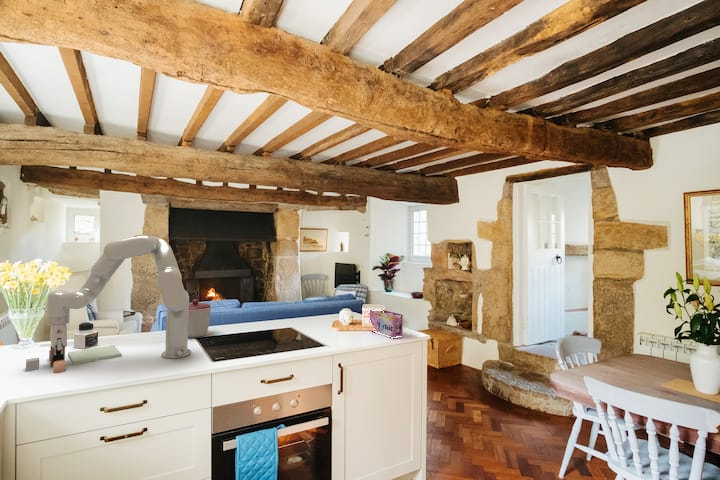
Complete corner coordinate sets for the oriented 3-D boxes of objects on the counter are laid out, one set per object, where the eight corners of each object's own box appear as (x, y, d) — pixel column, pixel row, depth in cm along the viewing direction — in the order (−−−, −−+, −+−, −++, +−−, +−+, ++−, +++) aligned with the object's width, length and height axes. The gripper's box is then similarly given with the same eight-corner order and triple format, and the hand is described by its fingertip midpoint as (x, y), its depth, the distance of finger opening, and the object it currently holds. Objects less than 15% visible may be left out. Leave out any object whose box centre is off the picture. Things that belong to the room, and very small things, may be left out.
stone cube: (39, 369, 153) (39, 359, 153) (26, 371, 150) (26, 361, 150) (38, 367, 156) (38, 357, 156) (25, 369, 153) (26, 359, 153)
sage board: (121, 356, 172) (121, 353, 172) (73, 364, 159) (73, 361, 159) (113, 347, 185) (113, 345, 185) (68, 354, 172) (68, 352, 172)
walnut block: (64, 365, 158) (64, 346, 159) (50, 367, 155) (51, 348, 155) (63, 362, 162) (63, 344, 162) (50, 364, 159) (50, 346, 159)
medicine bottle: (85, 349, 181) (85, 324, 181) (73, 347, 183) (73, 323, 183) (98, 345, 188) (98, 321, 188) (86, 344, 190) (87, 320, 190)
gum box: (404, 338, 216) (405, 315, 216) (394, 340, 211) (395, 316, 211) (378, 329, 235) (378, 308, 235) (368, 331, 230) (369, 309, 230)
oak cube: (61, 359, 166) (61, 350, 166) (49, 361, 163) (49, 352, 163) (60, 357, 169) (60, 348, 169) (49, 359, 166) (49, 350, 166)
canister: (183, 331, 219) (184, 296, 219) (215, 331, 221) (216, 296, 221) (171, 340, 201) (172, 301, 201) (206, 339, 203) (207, 301, 203)
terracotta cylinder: (66, 371, 151) (66, 361, 151) (53, 373, 148) (53, 363, 148) (65, 368, 154) (65, 359, 154) (52, 371, 151) (53, 361, 151)
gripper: (71, 322, 155) (70, 365, 155) (67, 316, 167) (66, 356, 167) (48, 325, 150) (47, 369, 150) (45, 318, 162) (44, 359, 162)
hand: (57, 362), depth 159 cm, fingers closed on walnut block, 4 cm apart
